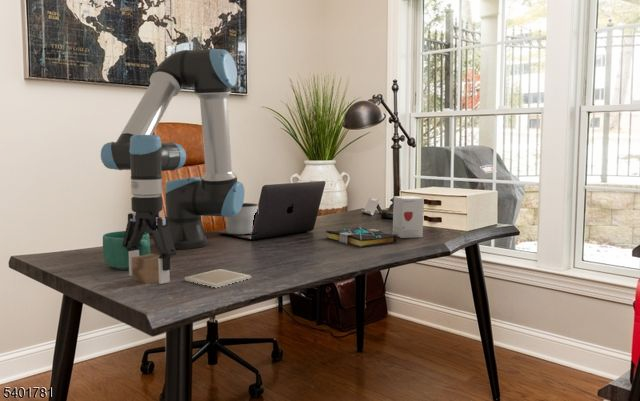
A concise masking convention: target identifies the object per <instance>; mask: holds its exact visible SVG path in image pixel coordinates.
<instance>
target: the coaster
mask: <svg viewBox="0 0 640 401" xmlns="http://www.w3.org/2000/svg"><path fill="white" fill-rule="evenodd" d="M250 278H251V279H252V275H250V274H246V273H241V272H237V271H231V270H227V269H222V268H218V269H214V270H210V271H209V270H208V271H205V272H200V273H197V274H194V275H193V274H192V275H189V276H185V277H184V281H186V282H189V283H193V282H194V284H197V283H198V285H201V284H202V286H205V285H207V286H206V287H209V286H211V288H213V287H215V288H214V289H218V288H217V287H219V288H222V287H221V286H223V287H225V285H226V286H229V285H228V284H230V285H233V284H232V283H234V284H236V283H235V282H237V283H240V282H239V281H241V282H244V281H247V280H246V279H248V280H251V279H250ZM243 280H244V281H243Z"/></svg>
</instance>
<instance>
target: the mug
mask: <svg viewBox="0 0 640 401" xmlns="http://www.w3.org/2000/svg"><path fill="white" fill-rule="evenodd" d="M125 231H126V230H121V231H113V232H107V233H104V234H103V235H102V253H103V260H104V262H105V263H106V264H107V265H109V266H110V267H113V268H114V269H116V270H129V260H128V251H127V249H126V247H123V245H122V244H123V240H124V236H125ZM150 237H151V236H150V235H149V234H148V233H146V232H145V233H144V235H143V237H142V239H141V241H140V243H139V245H138V247H139V249H135V250H139V256H142V255H147V254H151V240H150ZM128 242H129V241H128Z"/></svg>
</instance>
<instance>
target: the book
mask: <svg viewBox="0 0 640 401" xmlns="http://www.w3.org/2000/svg"><path fill="white" fill-rule="evenodd" d="M346 228H347V227H346ZM346 228H345V227H343V228H342V229H339V230H331V229H328V230H327V229H326V230H325V232H326V233H327V235H328V236H326V237H325V239H326V240H332V241H337V242H340V243H343V244H348V245H353V246H355V247H359V248H367V247H370V246H372V247H373V246H378V245H385V244H398V243H399V242H398V241H399V237H398V234H393V233H388V232H382V230H381V229H376V228H370V229H368V228H364V227H361V226H359V227H355V228H347V229H346Z"/></svg>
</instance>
